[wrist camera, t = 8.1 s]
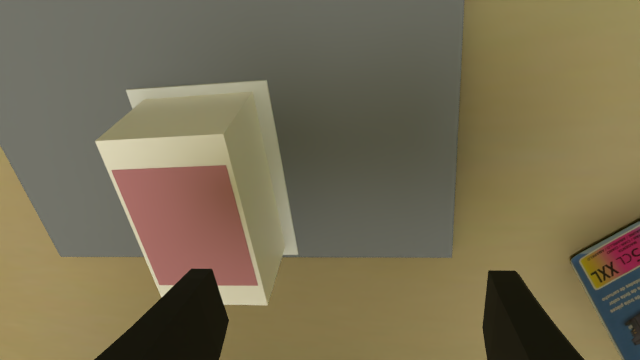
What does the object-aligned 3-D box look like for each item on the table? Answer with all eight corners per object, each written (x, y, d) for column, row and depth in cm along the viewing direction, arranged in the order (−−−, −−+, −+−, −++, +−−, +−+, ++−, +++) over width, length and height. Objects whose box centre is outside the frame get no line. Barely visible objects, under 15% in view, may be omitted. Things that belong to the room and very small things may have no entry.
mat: (450, 249, 23) (452, 258, 23) (66, 249, 27) (59, 257, 26) (471, -205, 14) (475, -209, 13) (-121, -107, 18) (-139, -107, 17)
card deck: (252, 91, 19) (222, 134, 16) (285, 246, 24) (267, 306, 20) (144, 99, 20) (94, 141, 17) (195, 247, 25) (163, 304, 21)
